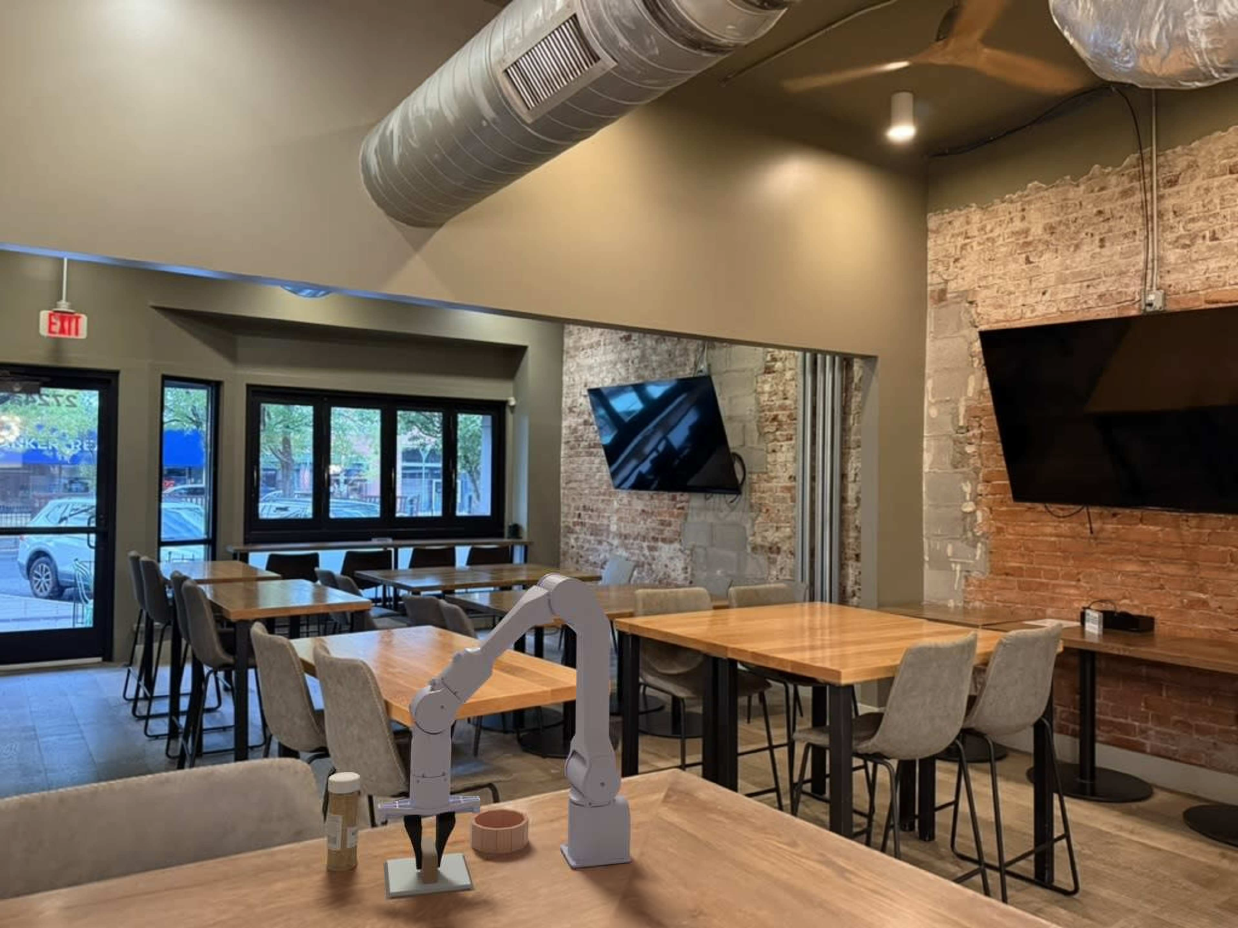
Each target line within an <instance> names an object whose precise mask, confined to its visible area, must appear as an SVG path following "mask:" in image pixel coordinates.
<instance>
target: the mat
mask: <svg viewBox="0 0 1238 928" xmlns="http://www.w3.org/2000/svg"><path fill="white" fill-rule="evenodd" d="M462 856H463V860H464V863H465V866H466V870H467V873H468V876H469V880H470V883H471V888H468V889H459V890H449V891H440V892H431V893H422V894H412V895H403V896H394V897H390V890H389V879H388V868H387V862H383V871H384V872H383V874H384V886H385V899H386V900H394V899H403V898H411V897H420V896H429V895H430V896H431V895H438V894H439V895H440V894H447V893H449V894H450V893H458V892H466V891H467V892H468V891H475V886H474V882H473V880H472V877H471V873H470V869H469V867H468V862H467V860H466V857H465V855H464V854H462Z"/></svg>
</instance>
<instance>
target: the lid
mask: <svg viewBox="0 0 1238 928" xmlns="http://www.w3.org/2000/svg"><path fill="white" fill-rule="evenodd" d="M462 853H463V852H458V853H457V852H456V853H448V854H447V853H446V854H445V853H444V854H443V855H442V859H441V864H440V868H438V855H437V851H436V847H435V839H434V835H431V836H422V842H421V854H422V868H421V870H417V869H416V859H415V856H414V857H405V858H404V857H403V858H395V859H387V860H386V863H387V868H388V879H389V890H390V897H394V896H403V895H412V894H422V893H431V892H440V891H449V890H459V889H468V888H471V883H470V880H469V876H468V873H467V870H466V866H465V863H464V860H463V856H462V855H463V854H462Z"/></svg>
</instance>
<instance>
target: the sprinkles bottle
mask: <svg viewBox="0 0 1238 928" xmlns="http://www.w3.org/2000/svg"><path fill="white" fill-rule="evenodd" d="M327 781H328V782H327V791H328V809H327V811H328V812H327V832H326V833H327V836H326V846H327V852H326V853H327V856H326V857H327V859H326V863H325V867H326V869H327V870H328V871H332V872H345V871H348V870H352V869H354V868H355V867H357V865H358V843H359V842H358V841H359V840H358V838H359V837H358V835H359V792H360V788H361V775H360V774H358V773H356V772H351V771H350V772H349V771H348V772H347V771H346V772H344V771H343V772H337V773H334V774H332V775H331V776H329V777H328V780H327Z"/></svg>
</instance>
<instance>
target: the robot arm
mask: <svg viewBox="0 0 1238 928" xmlns="http://www.w3.org/2000/svg"><path fill="white" fill-rule="evenodd" d="M553 616H554V617H557V618H559V619H561V620H562V621H563V623H565V624H566V625H567V626H568V627H569V628H570V629H572V630H573V631H574V632H575V633H576V679H575V680H576V681H575V683H576V684H575V686H576V687H575V688H576V689H575V691H576V692H575V734H574V736H573V737H572V739H571V741H570V749H569V753H568V756H567V758H566V760H565V763H564V774H565V779H566V780H567V781H568V782H569V783H570V790H569V792H568V809H567V811H568V813H567V843H565V844H560V845H559V847H560V851H561V852H562V853H563V856H564V857H565V859H566V861H567V862H568V864H569V866H570V867H571V868H572V869H574V868H576V869H577V868H584V867H585V868H586V867H594V866H595V867H596V866H604V865H605V866H606V865H611V864H613V865H614V864H623V863H630V862H631V861H632V858H631V856H630V855H631V824H632V823H631V819H632V818H631V811H630V803H629V801H628V798H627V797H626V796H625V795H618V794H619V792H620V789H621V785H622V778H621V773H620V771H619V769H618V767H617V764H616V762H617V761H616V753H615V749H614V747H613V745H612V741H611V739H610V689H611V687H610V684H611V683H610V681H611V679H610V678H611V672H610V671H611V670H610V669H611V668H610V667H611V622H610V619H609V617H608V616H607V614H606V613H605V610H604V609H603V607H602V605H601V604H600V602H599V601H598V598H597V594H596V591H595V590H594V589H593V588H592V587H590V586H589V585H587V584H586V583H585V582H584V581H582V580H580V579H578V578H574V577H568V576H566V575H564V574H562V573H558V572H551V573H548V574H546V575H544V576H543V577H541V578H540V579H539V580H538V582H537V584H536V585H535V584H534V585H532V586H531V587H530V588H529V589H527V591H525V593H524V595H522V597H521V598H520V599H519V601H518V602H516V603H515V605H514V606H513V607H512V608H511V609H510V611H508V613H506V615H505V616H504V617H503V618H502V619H501V621H499V623H497V625H496V626H495V627H494V628H493V629H492V630H491V632H489V634H487V635H486V637H485V638H484V639H483V640H482V641H481V643H479V644H478V646H474V647H465V648H464V649H462V650H461V652H459V651H458V650H456V651H454V653H453V654H451V656H450V658H451V659H452V660H451V661H450V663H449V664H447V665H446V666H445V667H444V669H443V670H441V672H439V674H438V675H437V676H436V677H435V678H434V677H433V676H431V677H430V678H429V679H428V681H427V683H428V684H429V685H427V686H423V687H421V688H419V689H418V690H417V691H416V692H415V693H414V694H413V695H412V698H411V702H410V703H409V704H408V710H409V714H410V716H411V718H413V720H414V721H413V722H412V730H411V735H412V738H411V742H410V743H411V744H410V745H411V747H410V776H409V777H410V779H409V781H410V783H409V798H404V799H400V800H395V801H390V802H384V803H383V802H382V803H377V822H378V823H379V822H382V823H383V822H386V821H387V820H394V819H396V820H397V819H403V825H404V828H405V831H406V833H407V835H408V838H409V840H410V842H411V846H412V850H413V852H414V857H415V859H416V869H417V870H421V868H422V854H421V842H422V837H423V824H422V823H423V822H422V817H431V816H435V840H434V842H435V847H436V851H437V855H438V868H440V864H441V859H442V855H444V851H445V848H446V845H447V842H448V840H449V837H450V836H451V835H452V832H453V831H454V829H455V826H456V823H457V819H456V815H457V814H458V815H459V814H466V813H467V814H469V813H471V814H473V815H475V814H478V813H480V812H481V799H480V796H479V795H474V796H473V795H472V796H471V795H470V796H469V795H451V767H452V765H451V764H452V763H451V762H452V760H451V759H452V738H451V735H452V734H451V731H452V725H454V723H455V721H456V719H457V715H458V709H459V708H462V707H463V705H465V704H466V702H467V701H468V700H470V698H472V696H474V695H475V693H476V692H477V691H478V690H479V689H481V687H483V686H484V684H485V683H486V682H487V681H488V680H489V679H490V678H491V677H492V676H493V666H494V662H495V661H496V660H498V658H499V657H501V656H502V655H503V654H504V653H505V652H506V651H507V650H508V649H509V648H510V647H512V645H513V644H515V643H516V642H517V641H518V640H519V639H520V638H521V637H523V635H524V634H525V633H526V632H527V631H529V629H531V628H532V627H535V626H539V625H546V624H552V623H555V619H554V617H553Z"/></svg>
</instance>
